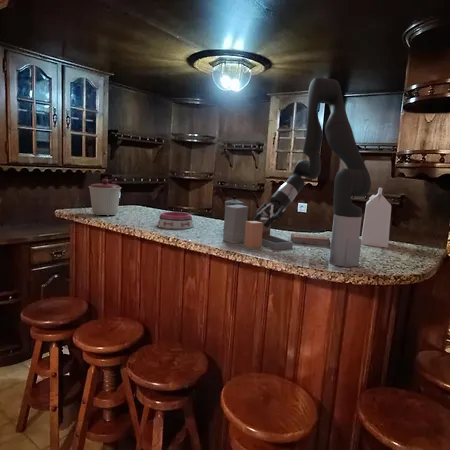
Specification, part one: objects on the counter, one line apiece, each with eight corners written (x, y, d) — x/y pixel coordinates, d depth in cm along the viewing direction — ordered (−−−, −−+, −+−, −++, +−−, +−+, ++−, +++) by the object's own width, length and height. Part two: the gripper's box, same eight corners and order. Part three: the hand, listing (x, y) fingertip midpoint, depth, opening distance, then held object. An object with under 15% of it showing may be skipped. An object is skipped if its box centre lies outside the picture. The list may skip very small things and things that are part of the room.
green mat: (267, 249, 148) (267, 248, 148) (250, 251, 144) (250, 249, 144) (254, 244, 156) (254, 243, 156) (237, 245, 153) (237, 244, 153)
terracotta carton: (261, 247, 149) (263, 222, 148) (250, 248, 147) (252, 223, 145) (254, 244, 154) (256, 220, 152) (244, 245, 151) (245, 221, 150)
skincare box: (235, 239, 165) (237, 204, 162) (247, 242, 160) (249, 206, 157) (221, 241, 159) (223, 204, 156) (233, 244, 154) (235, 206, 151)
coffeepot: (241, 235, 177) (244, 197, 174) (221, 234, 177) (223, 196, 174) (242, 230, 192) (244, 195, 189) (224, 228, 192) (226, 194, 190)
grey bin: (292, 249, 151) (292, 242, 151) (273, 250, 147) (274, 243, 146) (264, 239, 169) (264, 233, 168) (246, 240, 164) (247, 234, 164)
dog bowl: (196, 230, 185) (197, 216, 184) (158, 229, 181) (159, 215, 180) (190, 224, 203) (190, 211, 202) (155, 223, 198) (156, 210, 197)
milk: (388, 247, 167) (395, 189, 163) (360, 244, 171) (367, 187, 167) (386, 242, 178) (393, 188, 174) (361, 240, 182) (367, 186, 178)
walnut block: (269, 242, 161) (271, 219, 160) (259, 242, 159) (261, 219, 157) (262, 239, 166) (264, 217, 164) (253, 240, 163) (255, 217, 162)
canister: (102, 218, 204) (102, 179, 201) (81, 214, 214) (81, 177, 210) (127, 215, 219) (128, 179, 216) (107, 212, 229) (107, 177, 225)
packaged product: (329, 234, 165) (331, 238, 156) (328, 245, 166) (330, 250, 157) (288, 231, 168) (288, 235, 159) (287, 241, 169) (287, 246, 159)
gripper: (269, 188, 158) (244, 215, 154) (290, 191, 146) (264, 220, 142) (278, 201, 161) (254, 228, 157) (299, 204, 149) (274, 233, 145)
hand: (259, 224), depth 149 cm, fingers open, 8 cm apart
